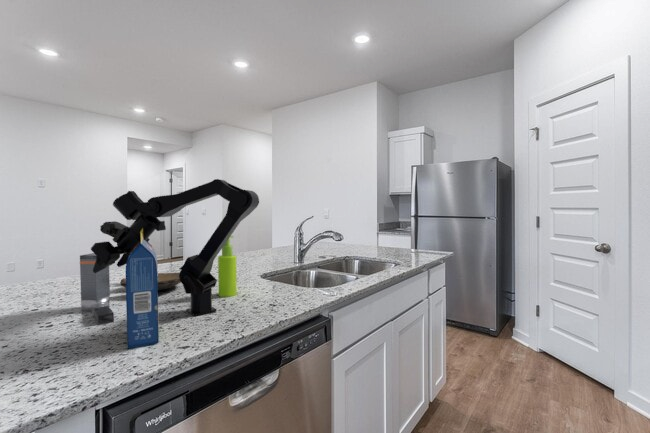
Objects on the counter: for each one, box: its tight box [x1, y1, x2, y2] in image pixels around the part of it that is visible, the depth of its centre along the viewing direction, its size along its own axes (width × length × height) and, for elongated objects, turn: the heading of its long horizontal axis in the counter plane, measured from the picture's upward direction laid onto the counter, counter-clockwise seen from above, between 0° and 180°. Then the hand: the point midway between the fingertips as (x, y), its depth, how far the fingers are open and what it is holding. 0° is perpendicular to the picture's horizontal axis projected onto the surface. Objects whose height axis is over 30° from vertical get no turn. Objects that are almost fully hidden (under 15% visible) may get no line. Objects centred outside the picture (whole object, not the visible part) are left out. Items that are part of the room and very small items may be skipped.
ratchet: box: [80, 295, 115, 326], centre depth 94 cm, size 21×7×6 cm, turn 42°
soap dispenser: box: [217, 235, 238, 298], centre depth 113 cm, size 6×7×20 cm
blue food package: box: [125, 228, 160, 349], centre depth 77 cm, size 6×12×25 cm, turn 27°
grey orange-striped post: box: [79, 252, 111, 301], centre depth 99 cm, size 5×5×13 cm
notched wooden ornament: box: [119, 272, 182, 291], centre depth 122 cm, size 22×30×8 cm
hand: (106, 268), depth 98 cm, fingers open, 9 cm apart
